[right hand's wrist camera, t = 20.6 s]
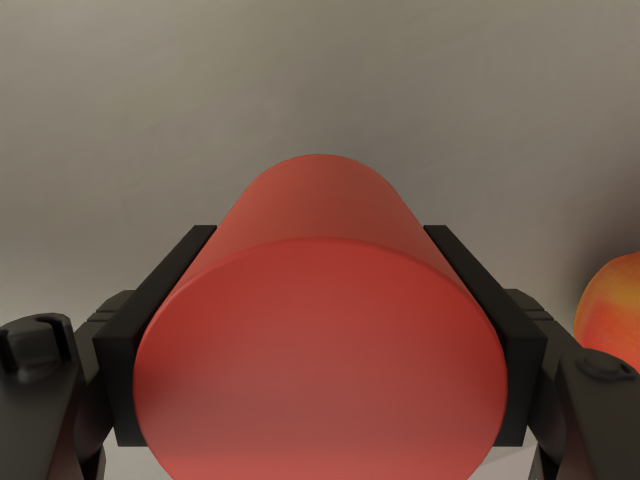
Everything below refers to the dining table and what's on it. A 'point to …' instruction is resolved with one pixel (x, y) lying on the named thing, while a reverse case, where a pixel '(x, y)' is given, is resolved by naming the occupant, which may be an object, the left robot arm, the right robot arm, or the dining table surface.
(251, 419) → the can
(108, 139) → the dining table surface
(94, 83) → the dining table surface
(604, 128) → the dining table surface
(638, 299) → the apple
